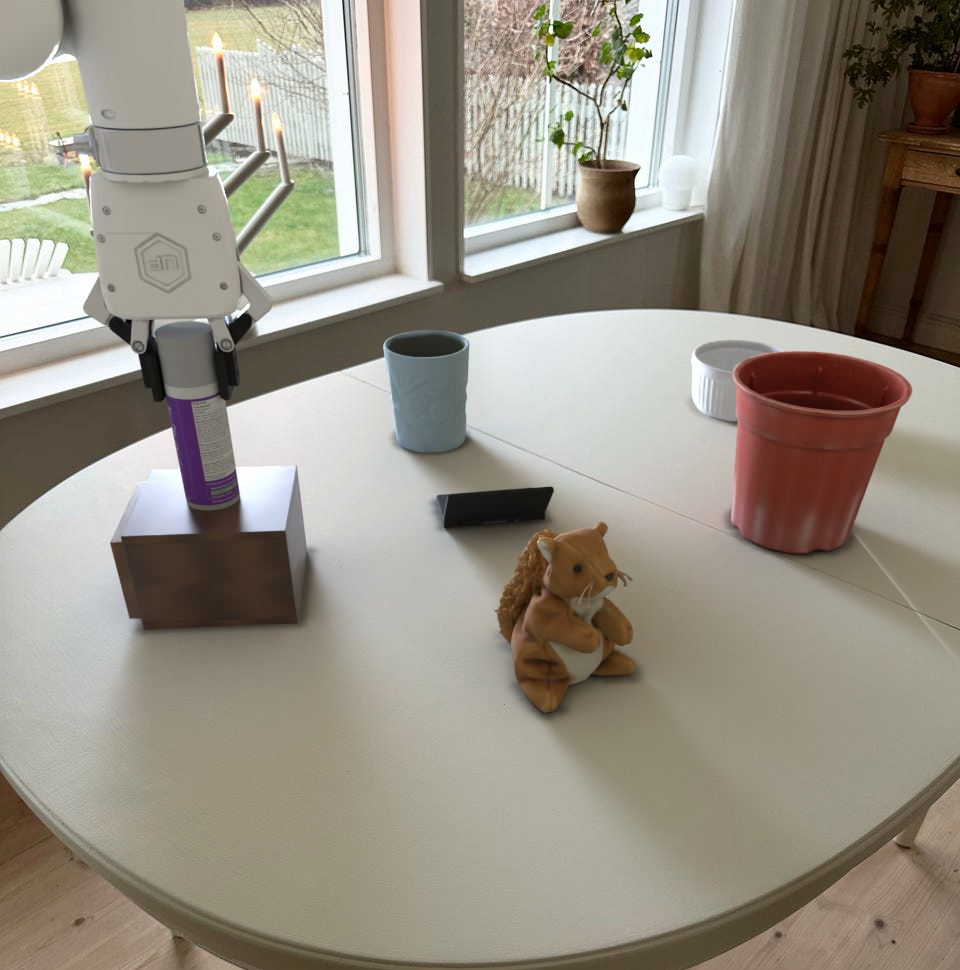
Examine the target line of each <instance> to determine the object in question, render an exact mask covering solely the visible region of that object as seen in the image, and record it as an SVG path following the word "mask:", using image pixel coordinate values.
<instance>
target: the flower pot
mask: <svg viewBox="0 0 960 970" xmlns="http://www.w3.org/2000/svg"><path fill="white" fill-rule="evenodd" d="M733 380H734V383H735V385H736V386H737V393H736V409H735V412H736V416H737V418H738V422H737V427H736V443H735V456H734V459H735V460H734V468H733V469H734V470H733V484H732V498H731V499H732V500H731V513H730V521H731V524H732V526H733V527H735V528H737V529H738V531H739V532H740V534H741V536H742V537H743V538H744V539H746V540H747V541H749V542H752V543H754V544H755V545H758V546H761V547H763V548H766V549H769V550H773V551H777V552H782V553H788V554H799V555H800V554H801V555H808V554H809V553H811V552H813V551H815V550H816V551H817V550H822V551H823V552H830V551H833V550H836V549H838V548H840V547H841V546H843V545H844V544H845V543H846V542H847V541H848V540H849V538H850V536H851V533H852V530H853V528H854V524H855V522H856V520H857V516H858V514H859V512H860V511H859V510H860V509H861V505H862V503H863V500H864V497H865V495H866V492H867V489H868V487H869V484H870V481H871V479H872V476H873V473H874V470H875V467H876V465H877V463H878V459H879V456H880V454H881V451H882V449H883V447H884V443H885V441H886V439H887V438H888V437H889V436H890V435H891V433H892V432H893V429H894V426H895V425H896V421H897V419H898V416H899V413H900V411H901V408H902V407H903V406H904V405H905V404H907V403H908V402H909V400H910V398H911V396H912V395H913V387H912V385H911V383H910V382H909V380H908V379H907V378H906V377H905V376H903V375H902V374H901V373H899V372H897V371H895V370H894V369H892V368H890V367H887V366H885V365H882V364H879V363H876V362H874V361H870V360H867V359H863V358H860V357H855V356H852V355H846V354H841V353H840V354H839V353H834V352H827V351H826V352H825V351H812V350H810V351H809V350H786V351H783V352H773V353H767V354H761V355H757V356H753V357H750V358H747V359H745V360H743V361H741V362H740V363H739V364H737V365H736V367H735V368H734V370H733Z"/></svg>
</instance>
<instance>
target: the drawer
mask: <svg viewBox="0 0 960 970" xmlns="http://www.w3.org/2000/svg"><path fill="white" fill-rule="evenodd" d="M145 482H146V481H138V482H137V484H136V486H135V488H134V491H133V492H132V494H131V497H130V499H129V500H128V504H127V505H126V508H125V510H124V512H123V514H122V516H121V517H120V520H119V523H118V524H117V527H116V530H115V531H114V534H113V536H112V537H111V539H110V542H109V543H110V549H111V552H112V557H113V560H114V564H115V567H116V572H117V577H118V579H119V580H118V581H119V583H120V587H121V588H120V589H121V591H122V595H123V599H124V602H125V603H124V604H125V607H126V610H127V614H128V615H127V616H128V618H129V619H130V620H132V619H134V620H135V619H136V620H137V619H141V616H140V612H139V608H138V604H137V600H136V596H135V592H134V588H133V584H132V580H131V576H130V572H129V568H128V564H127V560H126V556H125V552H124V548H123V544H122V540H121V535H122V532H123V530H124V528H125V526H126V524H127V521H128V519H129V517H130V515H131V513H132V510H133V508H134V506H135V504H136V502H137V499H138V497H139V495H140V493H141V491H142V488H143V486H144V484H145Z"/></svg>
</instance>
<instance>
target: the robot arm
mask: <svg viewBox="0 0 960 970" xmlns="http://www.w3.org/2000/svg"><path fill="white" fill-rule="evenodd" d="M69 61H76V62H77V65H78V69H79V75H80V79H81V84H82V89H83V93H84V99H85V104H86V109H87V112H88V113H87V114H88V118H89V122H90V125H88V129H87V131H84V132H83V133H73V136H72V139H73V146H74V150H75V153H76V154H77V155H80V156H81V155H84V156H85V155H87V156H88V157H92V158H93V160H94V161H95V165H96V167H97V168H100V169H99V170H98V171H96V172H94V173H92V174H90V176H89V203H90V205H89V206H90V215H91V226H92V234H93V235H92V236H93V243H94V250H95V257H96V264H97V271H98V277H97V279H96V280H95V282H94V284H93V286H92V288H91V289H90V292H89V294H88V296H87V298H86V300H85V301H84V303H83V306H82V310H83V312H84V313H85V314H86V315H87V316H89V317H90V318H92V319H94V320H95V321H96V322H98V323H100V324H101V325H103V326H106V327H108V329H109V330H110V331H111V332H112V333H114V334H115V335H116V336H117V337H118V338H119V339H121V340H122V341H124V342H125V343H126V344H127V345H129V346H130V349H131V350H132V352H134V353H135V354H137V355H138V360H139V365H140V370H141V375H142V380H143V383H144V384H143V385H144V388H145V389H151V395H152V398H153V402H154V403H162V401H165V399H166V396H165V390H164V383H163V378H162V372H161V366H160V360H159V354H158V348H157V342H156V336H154V334H155V331H154V330H155V320H159V321H160V320H200V319H201V320H205V319H206V320H207V322H208V324H209V325H210V327H211V329H212V331H213V335H214V339H215V340H216V341H215V346H216V350H215V352H214V360H215V367H216V373H217V379H218V385H219V391H220V397H221V399H223V400H225V401H231V399H232V396H233V393H234V390H235V387H239V386H240V384H241V375H240V368H239V361H238V355H237V348H236V345H238V343H239V342H240V341H241V340H242V338H243V337H244V336H245V335H246V334H247V333H248V332H249V330H250V329H251V327H253V326H254V325H255V324H256V323H257V322H259V321H261V319H262V318H264V316H265V315H267V314H268V313H269V312H270V311H271V310H272V307H273V306H274V305H273V304H274V299H273V297H272V296H271V295H270V294H269V293H268V292H267V290H266V289H265V288H264V287H263V286H262V285H261V284H260V283H259V282H258V280H256V278H255V277H254V276H253V275H252V274H251V273H250V271H248V269H247V268H246V267H245V266H244V265H243V264H242V262H241V256H240V250H239V246H238V241H237V237H236V231H235V228H234V222H233V219H232V213H231V210H230V206H229V203H228V200H227V195H226V193H225V189H224V186H223V183H222V179H221V177H220V175H219V171H218V169H217V168H215V167H211V166H209V163H208V157H207V150H206V143H205V137H204V129H203V123H202V117H201V116H202V115H201V109H200V103H199V95H198V88H197V83H196V77H195V71H194V70H195V69H194V65H193V64H194V63H193V57H192V49H191V43H190V35H189V28H188V21H187V15H186V9H185V1H184V0H0V82H15V81H22V80H24V79H27V78H30V77H32V76H34V75H36V73H39V72H40V71H41V70H42V69H44V67H46V66H48V65H50V64H55V63H60V62H69ZM243 296H244V297H245V298H246V299H247V300H248V303H249V304H247V305H246V306H245V307H244V308H243V309H241V310H240V311H239V312H238V313H237V314H236V316H235V317H234V318H233V316H232V314H234V313H235V312H236V311H237V309H238V307H239V306H240V304H241V299H242V297H243Z"/></svg>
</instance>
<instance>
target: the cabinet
mask: <svg viewBox="0 0 960 970" xmlns="http://www.w3.org/2000/svg"><path fill="white" fill-rule="evenodd" d="M236 472H237V478H238V484H239V491H240V498H239V500H238V501H237V502H236V503H235V504H233V505H231V506H229V507H227V508H224V509H219V510H212V511H204V510H197V509H194V508H192V507H190V506H189V505H188V504H187V501H186V497H185V492H184V487H183V482H182V477H181V471H180V468H170V469H169V468H168V469H166V468H165V469H150V471H149V473H148V475H147V477H146V479H145V481H144V482H145V484H144V486H143V488H142V491H141V493H140V495H139V497H138V499H137V502H136V504H135V506H134V508H133V510H132V513H131V515H130V517H129V519H128V521H127V524H126V526H125V528H124V530H123V532H122V535H121V540H122V544H123V548H124V552H125V556H126V560H127V564H128V568H129V572H130V576H131V580H132V584H133V588H134V592H135V596H136V600H137V604H138V608H139V612H140V616H141V618H140V620H141V624H142V628H143V630H144V631H151V630H173V629H174V630H175V629H197V628H198V629H199V628H223V627H224V628H225V627H247V626H268V625H270V626H272V625H291V624H292V625H293V624H294V625H295V624H296V625H297V624H299V618H300V610H301V604H302V603H301V602H302V595H303V589H304V588H303V586H304V581H305V580H304V579H305V572H306V565H307V557H308V547H307V537H306V531H305V521H304V511H303V503H302V495H301V487H300V480H299V478H300V477H299V473H298V472H299V471H298V465H297V464H295V465H294V464H293V465H266V466H265V465H264V466H263V465H261V466H236Z"/></svg>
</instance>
